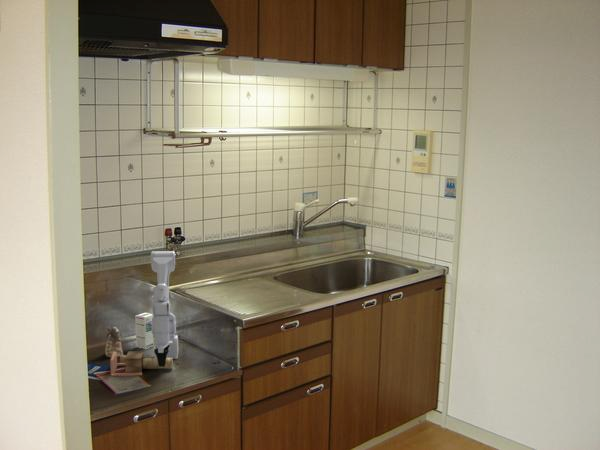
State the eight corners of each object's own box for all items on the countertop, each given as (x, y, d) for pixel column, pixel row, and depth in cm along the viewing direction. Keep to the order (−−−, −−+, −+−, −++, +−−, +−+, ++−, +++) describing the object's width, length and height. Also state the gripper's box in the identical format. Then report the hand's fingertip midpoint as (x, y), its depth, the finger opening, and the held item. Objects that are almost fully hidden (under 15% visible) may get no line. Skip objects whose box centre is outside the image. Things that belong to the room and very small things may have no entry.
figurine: (120, 357, 292) (119, 329, 290) (103, 357, 292) (102, 329, 290) (125, 351, 299) (124, 324, 297) (108, 351, 299) (107, 324, 297)
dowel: (172, 365, 281) (172, 356, 281) (172, 369, 278) (172, 359, 277) (143, 366, 280) (143, 357, 279) (142, 370, 276) (142, 360, 275)
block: (143, 365, 282) (143, 351, 282) (141, 373, 274) (140, 358, 273) (128, 365, 282) (127, 351, 281) (125, 373, 273) (125, 359, 272)
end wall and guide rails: (145, 364, 284) (144, 349, 283) (142, 375, 272) (141, 360, 271) (114, 365, 283) (114, 350, 282) (110, 376, 271) (109, 361, 270)
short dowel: (141, 362, 288) (141, 354, 288) (140, 363, 285) (140, 355, 285) (121, 362, 287) (121, 354, 287) (120, 363, 284) (120, 355, 284)
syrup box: (145, 349, 301) (145, 317, 299) (135, 347, 305) (134, 314, 302) (155, 346, 306) (154, 313, 304) (145, 343, 309) (144, 311, 307)
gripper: (171, 336, 270) (171, 370, 272) (173, 325, 284) (173, 357, 286) (152, 337, 269) (153, 371, 271) (155, 326, 283) (156, 358, 285)
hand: (162, 364), depth 279 cm, fingers closed on dowel, 4 cm apart
